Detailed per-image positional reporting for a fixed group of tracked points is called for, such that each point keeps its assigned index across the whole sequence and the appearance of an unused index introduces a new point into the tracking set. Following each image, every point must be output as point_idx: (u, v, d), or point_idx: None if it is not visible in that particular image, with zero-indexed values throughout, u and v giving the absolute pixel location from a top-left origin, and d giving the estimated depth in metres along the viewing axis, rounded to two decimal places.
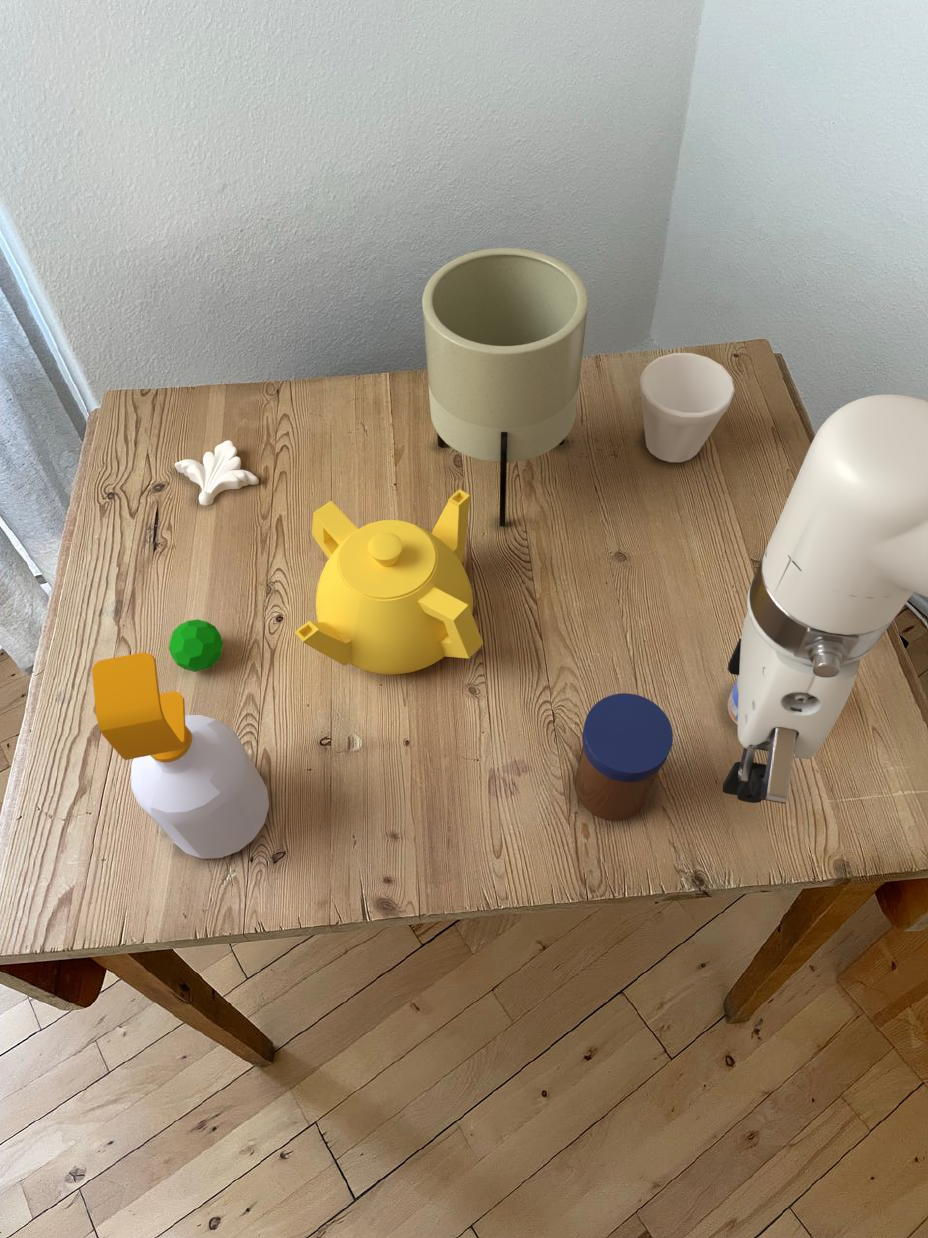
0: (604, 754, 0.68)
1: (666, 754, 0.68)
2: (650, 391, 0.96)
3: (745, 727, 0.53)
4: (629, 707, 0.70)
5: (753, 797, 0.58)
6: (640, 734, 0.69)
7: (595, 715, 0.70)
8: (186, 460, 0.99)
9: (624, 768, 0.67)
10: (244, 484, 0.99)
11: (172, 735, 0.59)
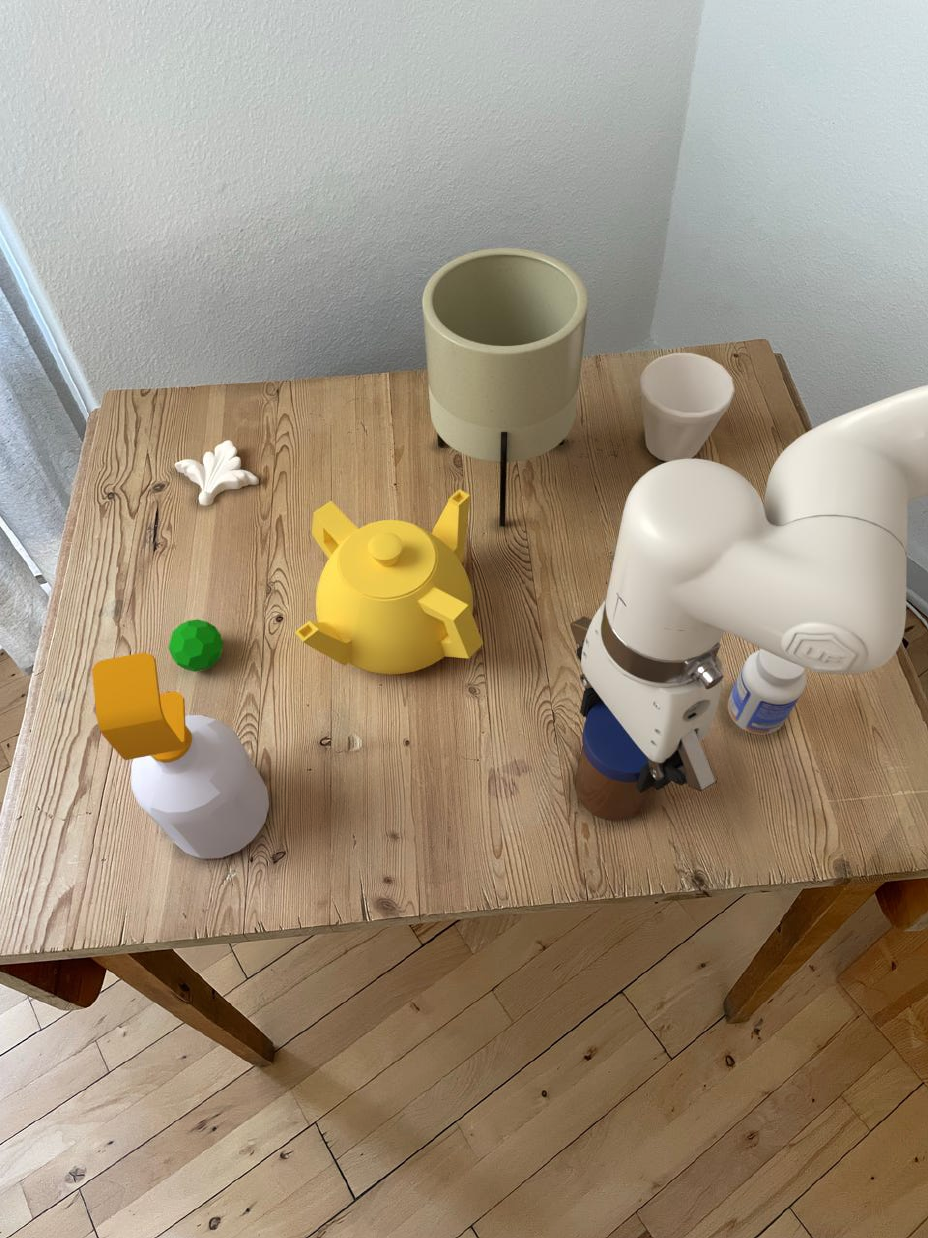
0: (604, 754, 0.68)
1: None
2: (650, 391, 0.96)
3: (657, 750, 0.60)
4: None
5: (666, 781, 0.67)
6: None
7: (595, 715, 0.70)
8: (186, 460, 0.99)
9: (624, 768, 0.67)
10: (244, 484, 0.99)
11: (172, 736, 0.59)
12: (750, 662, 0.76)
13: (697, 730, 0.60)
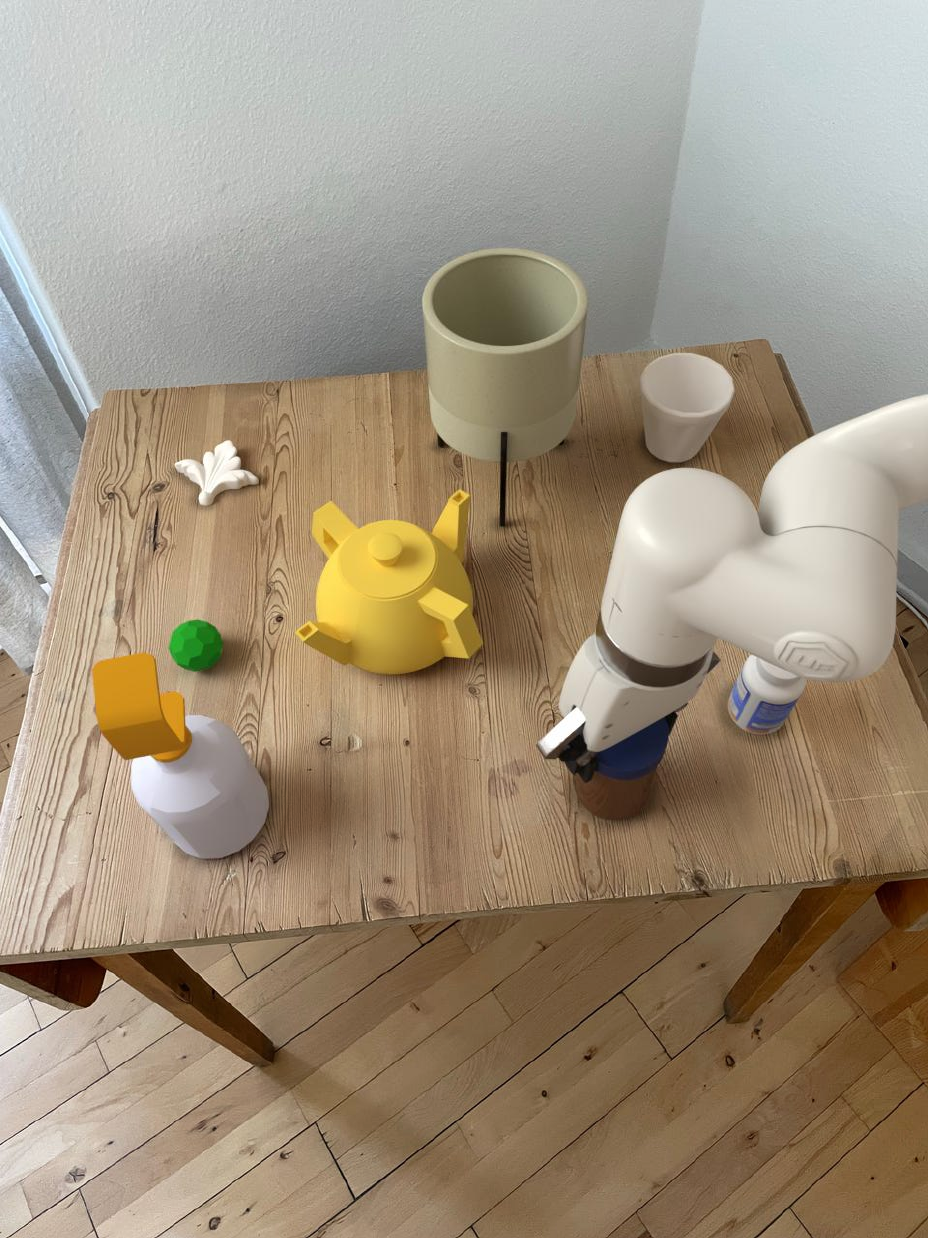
0: (651, 753, 0.67)
1: None
2: (650, 391, 0.96)
3: (701, 684, 0.64)
4: None
5: None
6: None
7: (607, 759, 0.67)
8: (186, 460, 0.99)
9: (664, 736, 0.68)
10: (244, 484, 0.99)
11: (172, 736, 0.59)
12: (750, 662, 0.76)
13: None
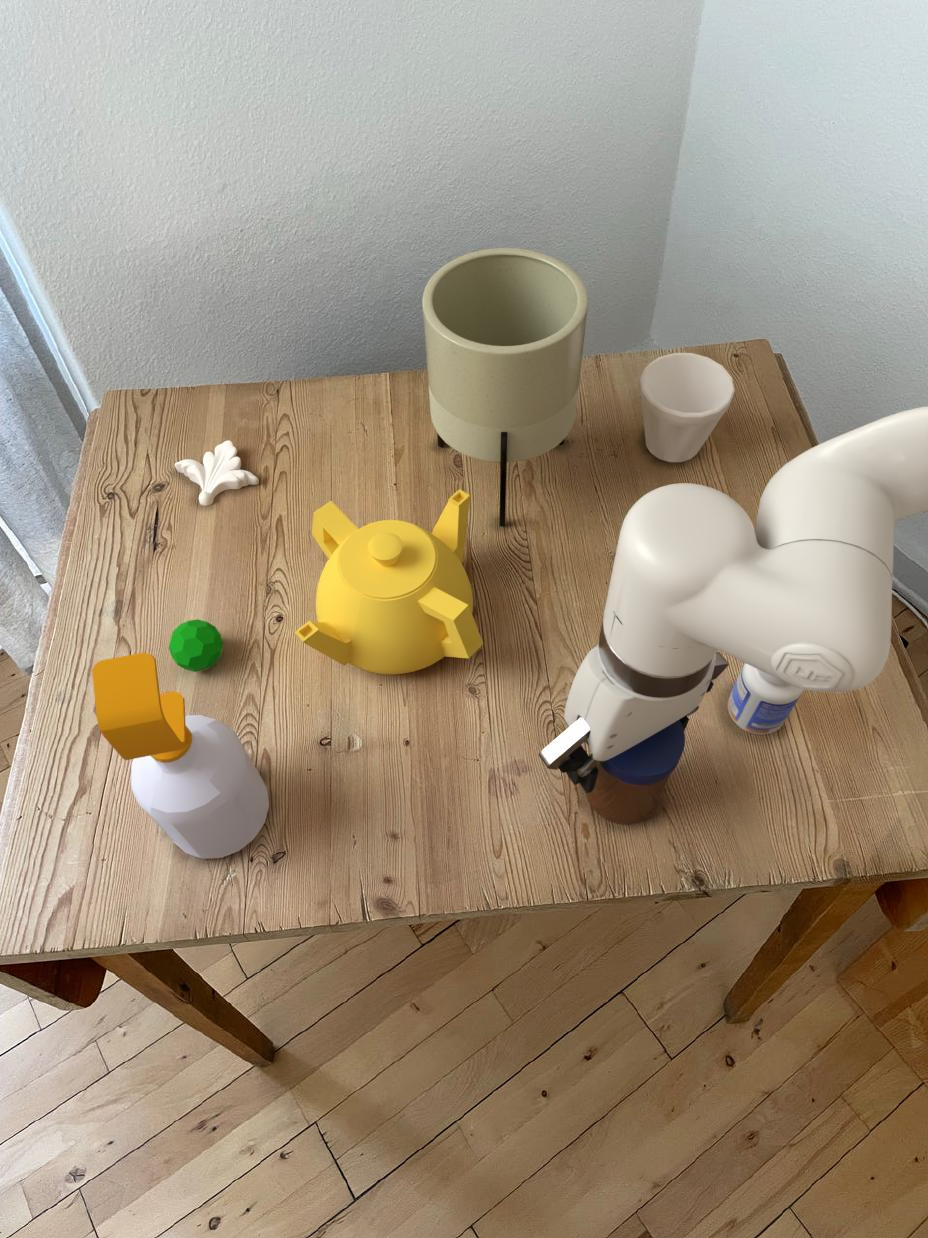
0: (667, 759, 0.67)
1: None
2: (650, 391, 0.96)
3: None
4: None
5: None
6: None
7: (623, 763, 0.67)
8: (186, 460, 0.99)
9: (680, 742, 0.68)
10: (244, 484, 0.99)
11: (172, 736, 0.59)
12: None
13: None
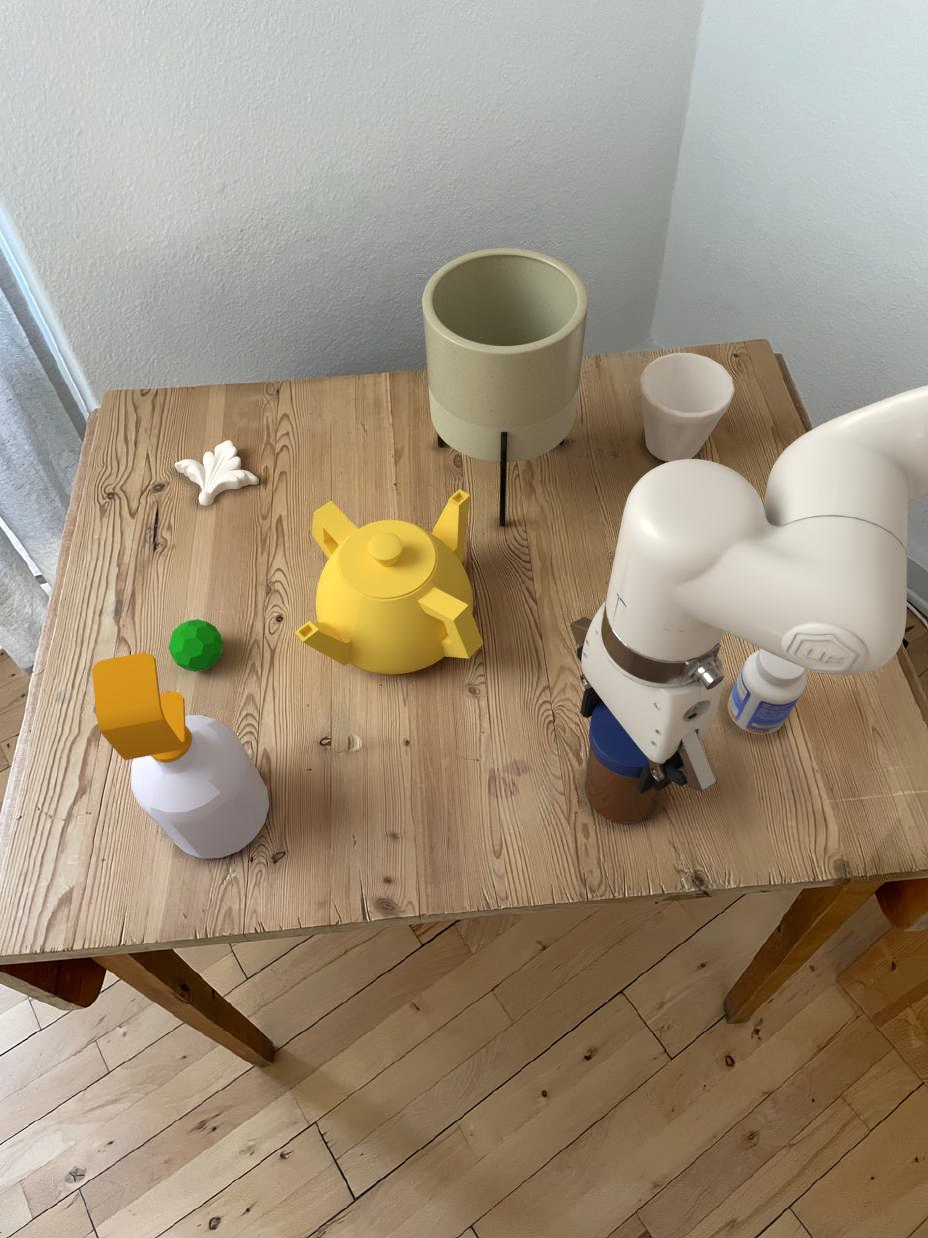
0: None
1: None
2: (650, 391, 0.96)
3: (658, 751, 0.60)
4: (608, 716, 0.69)
5: (667, 782, 0.67)
6: None
7: (608, 749, 0.68)
8: (186, 460, 0.99)
9: None
10: (244, 484, 0.99)
11: (172, 736, 0.59)
12: (750, 662, 0.76)
13: (697, 730, 0.60)
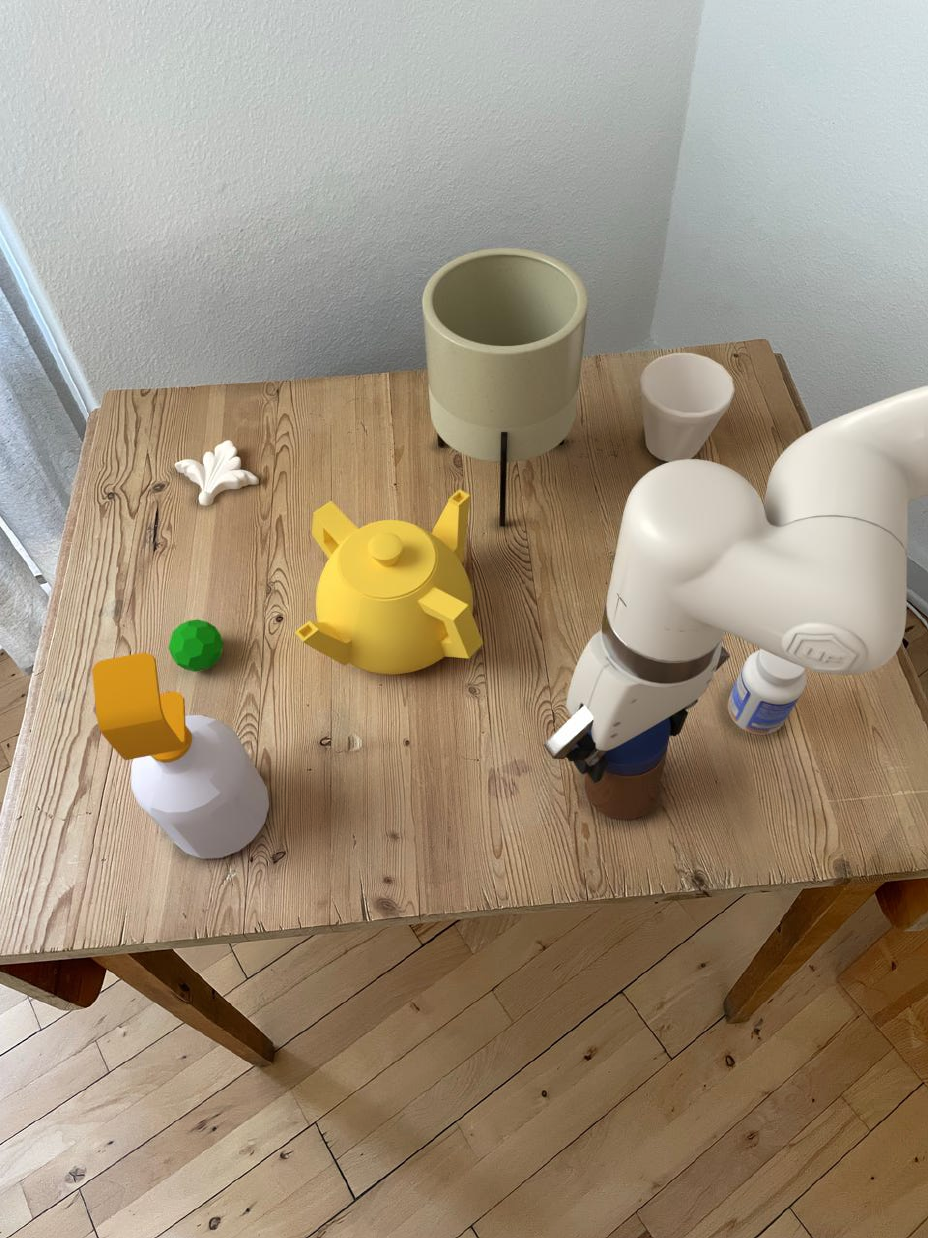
0: None
1: None
2: (650, 391, 0.96)
3: (710, 680, 0.63)
4: (615, 748, 0.68)
5: None
6: None
7: (652, 748, 0.67)
8: (186, 460, 0.99)
9: None
10: (244, 484, 0.99)
11: (172, 736, 0.59)
12: (750, 662, 0.76)
13: None
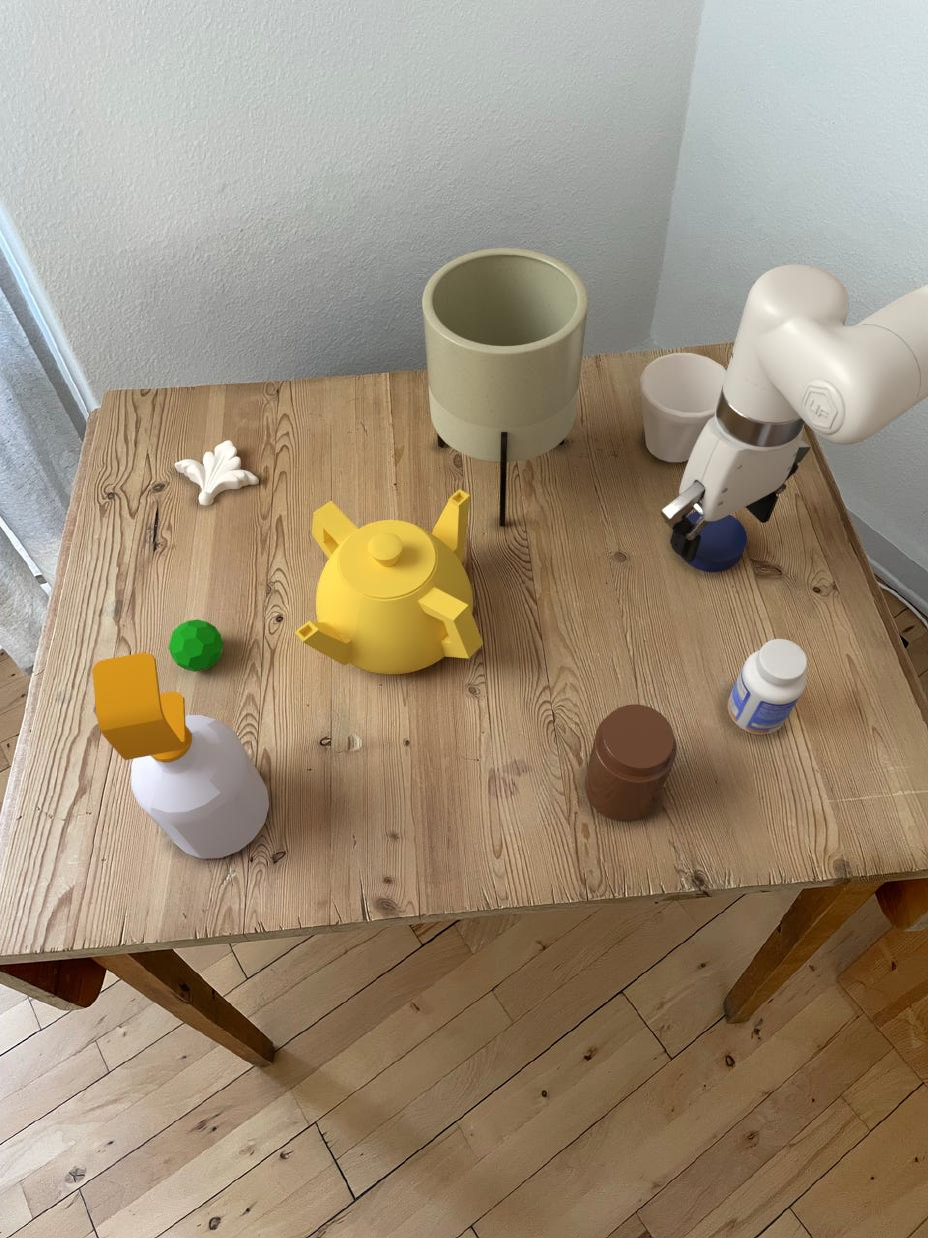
0: (736, 525, 0.91)
1: (690, 514, 0.92)
2: (650, 391, 0.96)
3: (790, 468, 0.83)
4: (706, 550, 0.90)
5: None
6: (704, 531, 0.91)
7: (735, 551, 0.90)
8: (186, 460, 0.99)
9: None
10: (244, 484, 0.99)
11: (172, 736, 0.59)
12: (750, 662, 0.76)
13: None
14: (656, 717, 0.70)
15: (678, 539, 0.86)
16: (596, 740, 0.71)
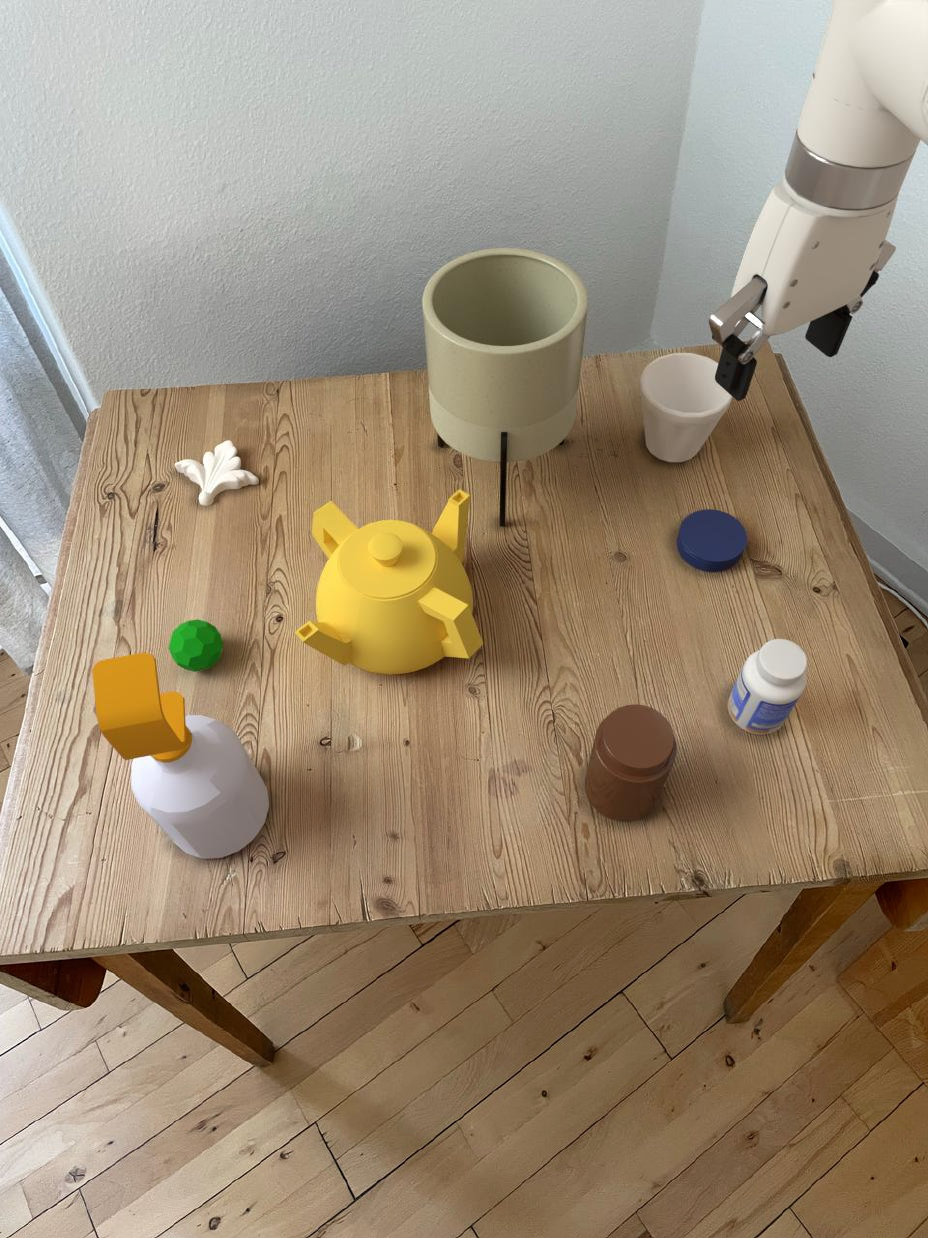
0: (736, 525, 0.91)
1: (690, 514, 0.92)
2: (650, 391, 0.96)
3: (873, 268, 0.65)
4: (706, 550, 0.90)
5: None
6: (704, 531, 0.91)
7: (735, 551, 0.90)
8: (186, 460, 0.99)
9: (724, 514, 0.92)
10: (244, 484, 0.99)
11: (172, 736, 0.59)
12: (750, 662, 0.76)
13: None
14: (656, 717, 0.70)
15: (727, 367, 0.68)
16: (596, 740, 0.71)
